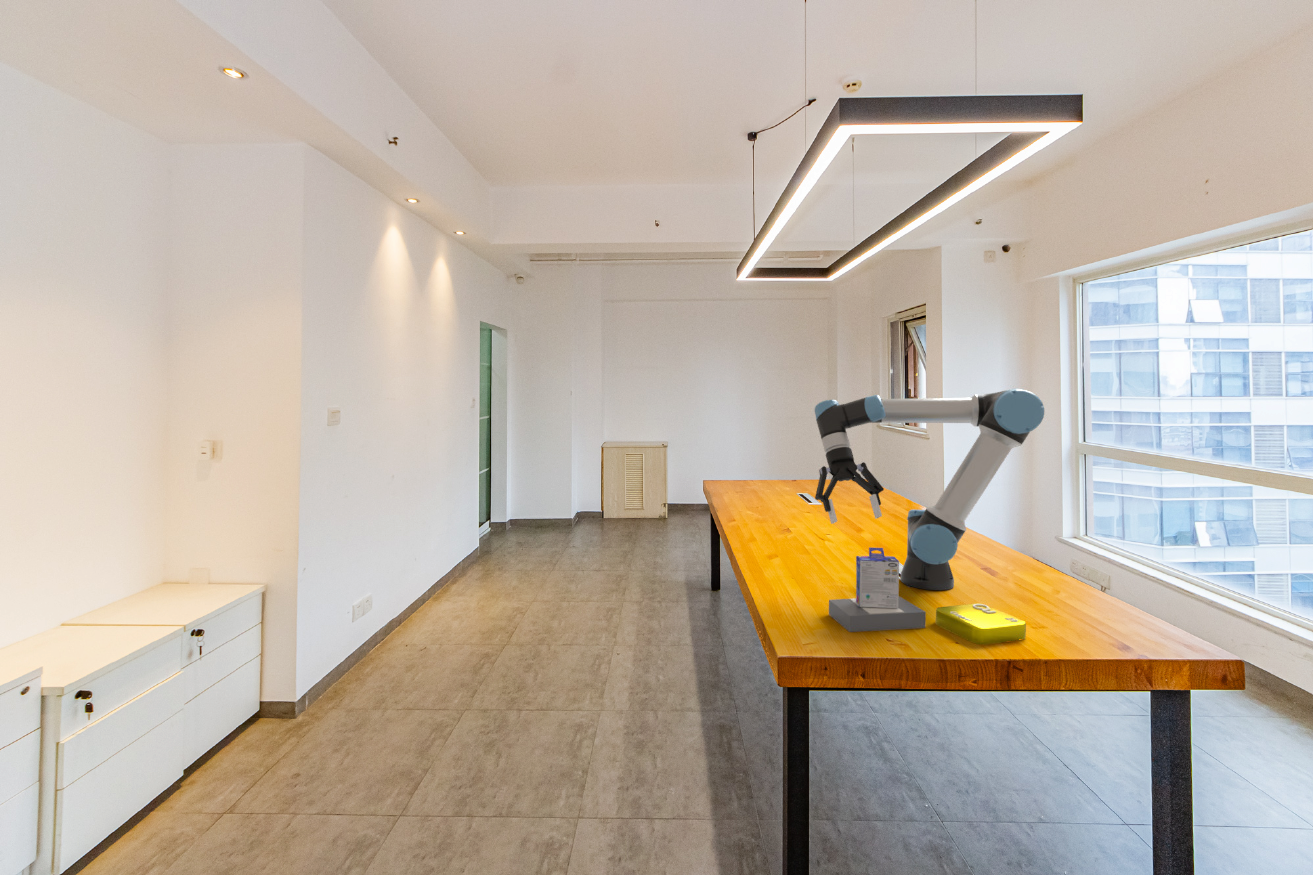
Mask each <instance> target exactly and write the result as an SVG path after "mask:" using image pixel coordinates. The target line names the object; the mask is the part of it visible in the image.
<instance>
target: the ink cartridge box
mask: <svg viewBox="0 0 1313 875" xmlns="http://www.w3.org/2000/svg"><path fill="white" fill-rule="evenodd" d="M874 551H878V552H880V553H876V552H875V553H874ZM868 554H869V555H856V556H855V558H856V559H855V560H856V561H855V563H856V565H855V568H856V570H855V573H856V574H855V575H856V581H855V583H856V585H855V586H856V589H855V590H856V594H855V598H856V602H857V604H858V606H859V607H880V608H898V597H899V591H900V590H899V589H900V588H899V586H900V584H899V581H900V580H899V579H900V561H899V559H897V558H896V557H895V556H889V555H885V552H884V548H883V547H868Z"/></svg>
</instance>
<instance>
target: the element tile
mask: <svg viewBox="0 0 1313 875" xmlns="http://www.w3.org/2000/svg"><path fill="white" fill-rule="evenodd" d="M935 625H937V626H938V627H940V628H942V629H944V630H946V631H948V632H950V633H952V634H954V635H955V636H958V637H959V638H962V639H963V640H966V641H968V642H970V643H972V644H975V645H984V646H985V645H987V646H988V645H992V644H1002V643H1008V642H1007V641H1010V642H1014V641H1015V640H1017V641H1020V640H1019V639H1024V640H1025V639H1026V632H1027V622H1026V621H1024V620H1022V619H1020V618H1018V617H1015V616H1013V615H1010V614H1008V613H1006V612H1003V611H1001V610H998V609H997V608H993V607H990V606H989V605H986V604H983V603H980V602H977V603H968V604H959V605H949V606H940V607H939V606H938V607H937V608H936V609H935ZM1015 642H1016V641H1015Z"/></svg>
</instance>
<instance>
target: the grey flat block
mask: <svg viewBox="0 0 1313 875" xmlns="http://www.w3.org/2000/svg"><path fill="white" fill-rule="evenodd" d="M926 613H927V612H926V611H925V610H923V609H921V608H919V606H916V605H914V604H913V603H911V602H910V601H908V600H907V599H904V598H903V597H902V596H898V608H880V607H859V606H858V604H857V602H856V597H855V598H839V599H837V598H836V599H829V600H828V616H830V617H831V618H832V619H833V620H834V621H836V622H837V623H838V624H839V625H841V627H843V628H844V629H846V630H847V631H848V632H849V633H854V632H855V633H857V632H873V631H876V632H877V631H890V630H891V631H893V630H906V629H907V630H909V629H912V630H913V629H925V628H926V624H927V623H926V620H927V619H926V618H927V617H926V616H927V614H926Z"/></svg>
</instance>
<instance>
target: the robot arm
mask: <svg viewBox="0 0 1313 875" xmlns="http://www.w3.org/2000/svg"><path fill="white" fill-rule="evenodd" d="M814 415H815V421H816V424H817V428H818V431H819V435H820V439H821V442H822V447H823V450H824V452H825V458H826V462H827V465H828V467H827V466H824V465H823V466H822V467H821V468H819V469H818V472H819V473H818V474H819V478H818V483H817V487H816V491H815V496H814V497H815V498H814V499H815V500H816V501H820V502H821V503H822V504H823V509H824V511H825V513H828V516H829V520H830V524H831V525H832V524H835V523H837V522H838V518H837V514H836V510H835V506H834V502H833V499H832V498H830V496H831V494H832V492H833V491H834V489H835V487H836V485H837V483H838V482H844V481H847V482H848V481H852V482H855V483H856V484H858V486H860V487H861V488H862V489H863V490H864V491H866V492H867V493H868V494H869V495H870V496H869V497H868V498H869V501H870V504H871V508H872V511H873V515H874V519H879V518H880V517H881V518H882V517H883V515H882V511H881V508H880V506H881V504H882V502H881V501H882V500H881V499H880V495H879V494H880V493H882V492H883V491H884V489H885V488H884V487H883V486H882V485H881V484H880V482H879V480H877V478H876V477H875V476H874V474H872V473H871V471H870V470H869V469H868V466H867V463H866V462H863V461H862V462H861V463H858V464H856V462H855V458H854V454H853V450H852V448H851V443H850V439H849V436H848V433H847V429H852V428H855V427H858V426H862V425H867V424H871V423H872V424H879V423H881V424H882V423H883V424H888V423H889V424H890V423H891V424H893V423H894V424H898V423H899V424H900V423H903V424H906V423H907V424H912V423H914V424H971V425H972V426H973V427H978V428H979V431H980V434H979V435H978V437H977V438H976V439H975V441H974V443H973V445H972V446H971V448H970V449H969V450H968V453H967V454H966V456H965V457H964V459H963V461H962V462H961V464H960V465H959V467H958V468H957V470H956V472H955V473H954V475H953V476H952V478H951V480H950V481H949V483H948V484H947V486H946V488H945V489H944V491H943V492H942V494H941V495H940V497H939V498H938V500H937V502H936V504H935V505H933V506H929V507H926V509H910V510H908V514H907V518H906V520H907V542H906V543H907V548H906V549H907V550H906V559H905V561H904V563H903V567H902V569H901V572H900V582H901V583H903V584H904V585H906V586H909V587H911V588H916V589H921V590H930V591H945V590H946V591H947V590H951V589H953V588H954V586H955V579H954V575H953V573H952V569H951V565H950V562H949V561H950V560H952V559H953V558H954V557H955V555H956V553H957V550H958V547H959V546H958V545H959V544H958V543H959V542H960V541H961V538H962V537H963V535H964V534H965V533H966V531H967V527H966V523H965V522H966V520H967V519H968V517H969V515H970V514H971V512H972V511H973V509H974V508H975V506H976V504H977V503H978V501H979V500H980V498H981V496H982V495H983V494H984V492H985V491H986V489H987V487H988V486H989V484H990V483H991V481H992V479H993V478H995V475H996V474H997V472H998V470H999V469H1000V468H1001V466H1002V464H1003V463H1004V461H1005V460H1006V458H1007V457H1008V455H1009V454H1010V452H1011V450H1012V449H1014V448H1017V447H1021V446H1022V445H1023V444H1024V442H1025V441H1026V439H1027V437H1028V436H1029V434H1030V433H1031V432H1032V431H1034V430H1035V429H1037V428H1038V426H1039V425H1041V423H1042V421H1043V419H1044V417H1045V407H1044V404H1043V401H1042V400H1041V399H1040V398H1039V396H1038V395H1037V394H1035V393H1034V392H1032V391H1029V390H1026V389H1024V388H1012V389H1007V390H1002V391H998V392H992V393H984V394H983V393H981V394H973V395H972V397H941V398H940V397H939V398H938V397H937V398H936V397H935V398H933V397H932V398H928V397H927V398H925V397H923V398H881V396H880V395H879V394H874V395H869V396H866V397H863V398H859V399H856V400H853V401H849V402H846V403H841V404H839V402H838V400H836V399H829V400H828V399H827V400H826V399H825V400H823V401H821V402H819V403H817V404H816V405H814ZM859 472H860V473H859ZM829 474H830V475H831V476H832V477H831V479H830V482H829V484H828V485H827V488H826V490H825V486H826V482H827V477H828V475H829ZM824 490H825V492H824Z"/></svg>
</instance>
